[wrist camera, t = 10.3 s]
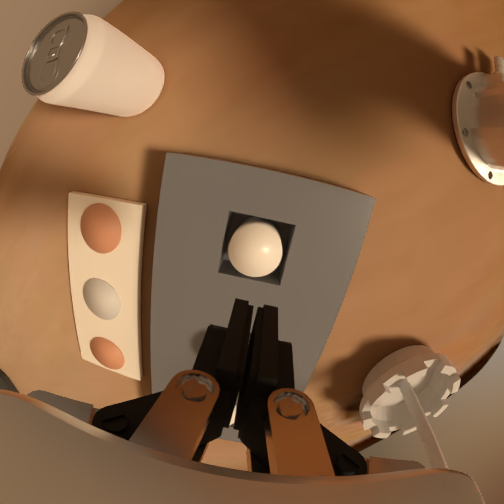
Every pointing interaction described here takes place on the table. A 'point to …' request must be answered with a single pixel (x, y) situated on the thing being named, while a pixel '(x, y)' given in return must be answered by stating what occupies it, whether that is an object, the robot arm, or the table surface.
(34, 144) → the table surface
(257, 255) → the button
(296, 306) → the button panel
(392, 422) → the flag stand
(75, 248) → the pattern card
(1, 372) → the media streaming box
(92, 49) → the can
